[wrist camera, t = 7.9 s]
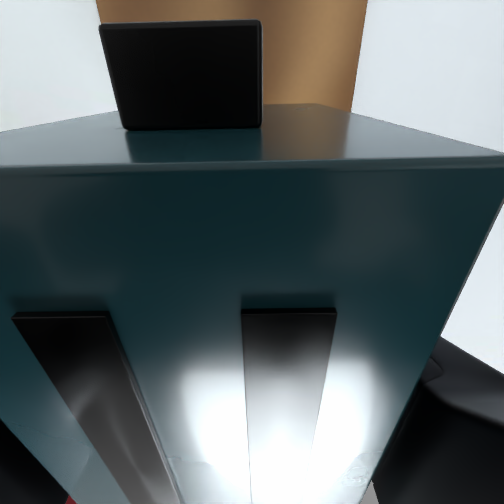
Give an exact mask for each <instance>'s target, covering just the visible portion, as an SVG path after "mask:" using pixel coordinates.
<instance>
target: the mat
mask: <svg viewBox="0 0 504 504" xmlns="http://www.w3.org/2000/svg"><path fill="white" fill-rule="evenodd" d="M367 1H368V0H96V4H97V8H98V12H99V17H100V21H101V24H102V23H114V22H152V21H190V20H227V19H258V20H260V21H261V23H262V26H263V104H300V103H317V104H321V105H325V106H329V107H333V108H336V109H340V110H344V111H348V112H351V107H352V100H353V94H354V87H355V81H356V74H357V67H358V61H359V54H360V48H361V41H362V34H363V28H364V21H365V15H366V8H367Z"/></svg>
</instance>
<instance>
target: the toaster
mask: <svg viewBox="0 0 504 504" xmlns="http://www.w3.org/2000/svg"><path fill="white" fill-rule="evenodd" d="M99 34H100V38H101V42H102V46H103V50H104V54H105V58H106V62H107V67H108V71H109V75H110V79H111V83H112V87H113V91H114V95H115V100H116V104H117V108H118V111H113V112H108V113H102V114H97V115H91V116H86V117H80V118H75V119H69V120H64V121H58V122H53V123H47V124H42V125H36V126H31V127H25V128H20V129H14V130H9V131H3V132H0V420H1V421H2V422H3V423H4V424H5V425H6V426H7V427H8V428H9V429H10V431H11V432H12V433H13V434H14V435H15V436H16V437H17V438H18V439H19V440H20V442H21V443H22V444H23V445H24V446H25V447H26V448H27V449H28V450H29V451H30V452H31V454H32V455H33V456H34V457H35V458H36V459H37V460H38V461H39V462H40V463H41V465H42V466H43V467H44V468H45V469H46V470H47V471H48V472H49V473H50V474H51V476H52V477H53V478H54V479H55V480H56V481H57V482H58V483H59V484H60V485H61V486H62V488H63V489H64V490H65V491H66V492H67V493H68V494H69V495H70V496H71V497H72V498H73V500H74V501H75V502H76V503H77V504H360V503H361V500H362V499H363V496H364V494H365V492H366V490H367V488H368V486H369V484H370V482H371V480H372V478H373V476H374V473H375V471H376V469H377V467H378V465H379V463H380V461H381V459H382V457H383V455H384V453H385V450H386V448H387V446H388V444H389V442H390V440H391V438H392V436H393V434H394V432H395V430H396V427H397V425H398V423H399V421H400V419H401V417H402V415H403V413H404V411H405V409H406V407H407V404H408V402H409V400H410V398H411V396H412V394H413V392H414V390H415V388H416V386H417V383H418V381H419V379H420V377H421V375H422V373H423V371H424V369H425V367H426V365H427V363H428V360H429V358H430V356H431V354H432V352H433V350H434V348H435V346H436V344H437V342H438V340H439V337H440V335H441V333H442V331H443V329H444V327H445V325H446V323H447V321H448V319H449V317H450V314H451V312H452V310H453V308H454V306H455V304H456V302H457V300H458V298H459V296H460V294H461V291H462V289H463V287H464V285H465V283H466V281H467V279H468V277H469V275H470V273H471V270H472V268H473V266H474V264H475V262H476V260H477V258H478V256H479V254H480V252H481V250H482V247H483V245H484V243H485V241H486V239H487V237H488V235H489V233H490V231H491V229H492V227H493V224H494V222H495V220H496V218H497V216H498V214H499V212H500V210H501V208H502V206H503V204H504V153H503V152H499V151H495V150H491V149H487V148H484V147H480V146H476V145H472V144H469V143H465V142H461V141H457V140H453V139H450V138H446V137H442V136H438V135H435V134H431V133H427V132H423V131H419V130H416V129H412V128H408V127H404V126H401V125H397V124H393V123H389V122H385V121H382V120H378V119H374V118H370V117H367V116H363V115H359V114H355V113H351V112H348V111H344V110H340V109H336V108H333V107H329V106H325V105H321V104H317V103H300V104H263V26H262V23H261V21H260V20H258V19H227V20H190V21H152V22H114V23H102V24H101V25H99Z"/></svg>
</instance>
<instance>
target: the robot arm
mask: <svg viewBox="0 0 504 504" xmlns="http://www.w3.org/2000/svg"><path fill="white" fill-rule="evenodd" d="M372 482H373V483H374V484H373V486H374V489H375V492H376V496H377V499H378V502H379V504H504V374H503V373H501V372H499V371H497V370H496V369H494V368H492V367H491V366H489V365H487V364H486V363H484V362H482V361H481V360H479V359H477V358H475V357H474V356H472V355H470V354H469V353H467V352H465V351H464V350H462V349H460V348H459V347H457V346H455V345H454V344H452V343H450V342H449V341H447V340H446V339H444V338H442V337H441V336H440V337H439V340H438V342H437V344H436V346H435V348H434V350H433V352H432V354H431V356H430V358H429V360H428V363H427V365H426V367H425V369H424V371H423V373H422V375H421V377H420V379H419V381H418V383H417V386H416V388H415V390H414V392H413V394H412V396H411V398H410V400H409V402H408V404H407V407H406V409H405V411H404V413H403V415H402V417H401V419H400V421H399V423H398V425H397V427H396V430H395V432H394V434H393V436H392V438H391V440H390V442H389V444H388V446H387V448H386V450H385V453H384V455H383V457H382V459H381V461H380V463H379V465H378V467H377V469H376V471H375V473H374V476H373V478H372ZM68 496H69V494H68V493H67V492H66V491H65V490H64V489H63V488H62V486H61V485H60V484H59V483H58V482H57V481H56V480H55V479H54V478H53V477H52V476H51V474H50V473H49V472H48V471H47V470H46V469H45V468H44V467H43V466H42V465H41V463H40V462H39V461H38V460H37V459H36V458H35V457H34V456H33V455H32V454H31V452H30V451H29V450H28V449H27V448H26V447H25V446H24V445H23V444H22V443H21V442H20V440H19V439H18V438H17V437H16V436H15V435H14V434H13V433H12V432H11V431H10V429H9V428H8V427H7V426H6V425H5V424H4V423H3V422H2V421H1V420H0V504H65V503H66V501H67V498H68Z"/></svg>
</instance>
